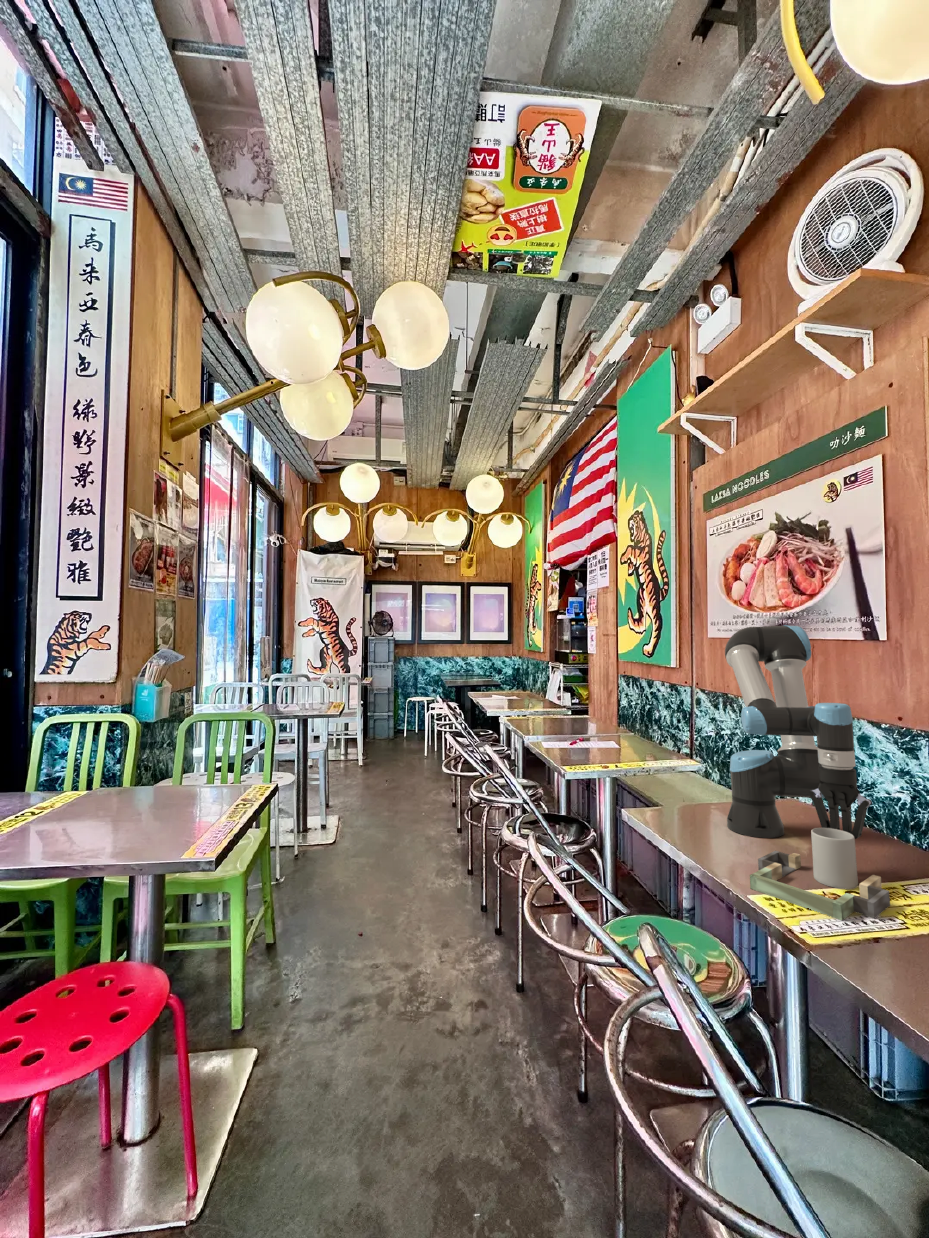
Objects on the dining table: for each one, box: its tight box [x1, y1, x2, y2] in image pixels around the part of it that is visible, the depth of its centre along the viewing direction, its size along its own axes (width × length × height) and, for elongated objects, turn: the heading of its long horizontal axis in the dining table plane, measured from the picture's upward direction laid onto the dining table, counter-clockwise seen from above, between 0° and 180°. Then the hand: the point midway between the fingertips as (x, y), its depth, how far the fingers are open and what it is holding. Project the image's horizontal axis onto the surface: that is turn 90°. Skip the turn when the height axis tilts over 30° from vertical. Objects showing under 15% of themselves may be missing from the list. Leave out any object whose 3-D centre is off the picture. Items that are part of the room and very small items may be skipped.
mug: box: [810, 827, 859, 890], centre depth 124 cm, size 12×8×11 cm
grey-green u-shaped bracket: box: [749, 850, 891, 921], centre depth 118 cm, size 22×25×3 cm
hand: (843, 864), depth 127 cm, fingers closed
